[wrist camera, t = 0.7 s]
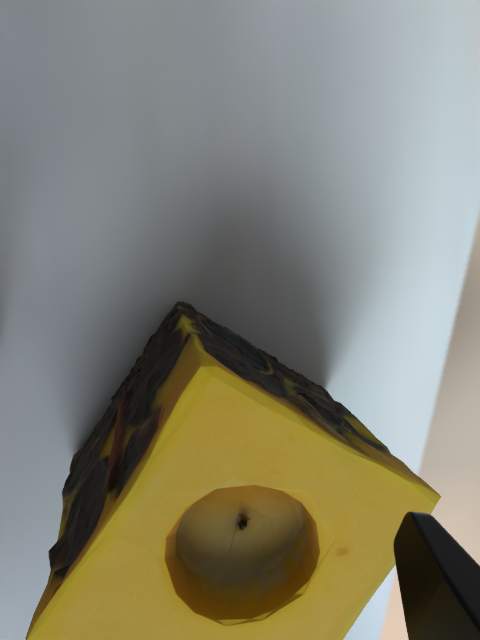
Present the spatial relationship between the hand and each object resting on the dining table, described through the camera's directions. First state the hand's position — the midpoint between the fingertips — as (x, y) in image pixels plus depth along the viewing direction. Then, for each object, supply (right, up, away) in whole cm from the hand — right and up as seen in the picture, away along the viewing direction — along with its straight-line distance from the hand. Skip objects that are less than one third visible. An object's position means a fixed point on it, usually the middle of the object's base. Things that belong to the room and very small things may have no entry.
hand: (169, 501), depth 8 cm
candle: (-1, -2, +15) cm, 15 cm away
